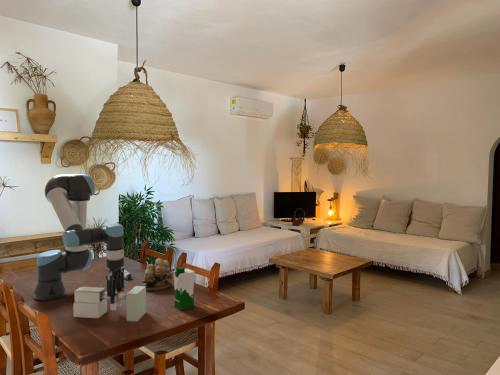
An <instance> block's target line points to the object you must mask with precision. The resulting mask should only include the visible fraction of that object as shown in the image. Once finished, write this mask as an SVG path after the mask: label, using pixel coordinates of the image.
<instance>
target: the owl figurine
mask: <svg viewBox="0 0 500 375" xmlns="http://www.w3.org/2000/svg"><path fill="white" fill-rule="evenodd" d="M154 262H155V265H154V264H152V263H149V264H147V266H146V269H145V270H144V276H143V277H144V279H143V280H142V281H141V283H142V284H145V285H144V286H146V293H154V292H162V291H166V290H168V288H169V289H170V288H172V287H173V283H172V282H171V281H169V279H171V278H172V276H174V273H173V271H171V268H170V262H169V261H168V260H166V259H165V260H163V259H162V258H156V259H155V261H154Z"/></svg>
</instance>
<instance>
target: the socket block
mask: <svg viewBox="0 0 500 375" xmlns="http://www.w3.org/2000/svg"><path fill="white" fill-rule="evenodd" d="M125 293H126V301H125V302H126V304H125V305H126V322H139V321H140V320H141V319H142V317H143V316H144V315H145V314H146V313H147V292H146V286H145V285H143V286H141V285H135V286H134V287H133V288H132V289H130V290H128V291H127V292H125Z"/></svg>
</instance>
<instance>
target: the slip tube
mask: <svg viewBox="0 0 500 375" xmlns="http://www.w3.org/2000/svg"><path fill="white" fill-rule="evenodd" d="M122 290H123V289H122ZM122 290H116V294H115V296H116V298H117V303H119V302H120V301H122V302H126V293H127V292H122ZM100 300H107V301H110V297H107V291H105V292H100Z"/></svg>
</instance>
